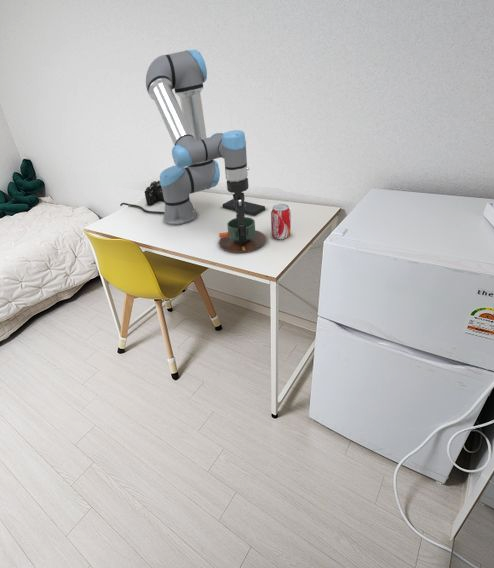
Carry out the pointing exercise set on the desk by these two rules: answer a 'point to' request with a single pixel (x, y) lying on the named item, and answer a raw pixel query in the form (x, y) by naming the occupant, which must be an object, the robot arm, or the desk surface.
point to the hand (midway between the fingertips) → (241, 235)
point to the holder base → (243, 244)
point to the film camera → (154, 193)
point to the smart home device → (248, 209)
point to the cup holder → (233, 230)
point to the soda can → (281, 221)
